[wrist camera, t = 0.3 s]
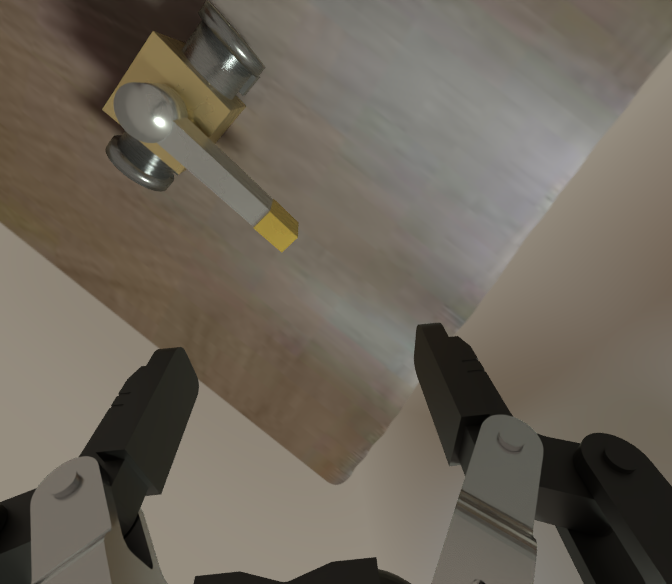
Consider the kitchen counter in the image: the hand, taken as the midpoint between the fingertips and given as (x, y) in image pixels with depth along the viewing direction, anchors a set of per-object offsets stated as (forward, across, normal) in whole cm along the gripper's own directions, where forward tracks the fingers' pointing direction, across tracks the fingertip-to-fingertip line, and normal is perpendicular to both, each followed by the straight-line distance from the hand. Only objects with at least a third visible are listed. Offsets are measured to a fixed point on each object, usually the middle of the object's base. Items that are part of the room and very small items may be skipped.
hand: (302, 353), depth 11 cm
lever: (+18, +6, -3) cm, 19 cm away
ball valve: (+26, +9, -7) cm, 28 cm away
